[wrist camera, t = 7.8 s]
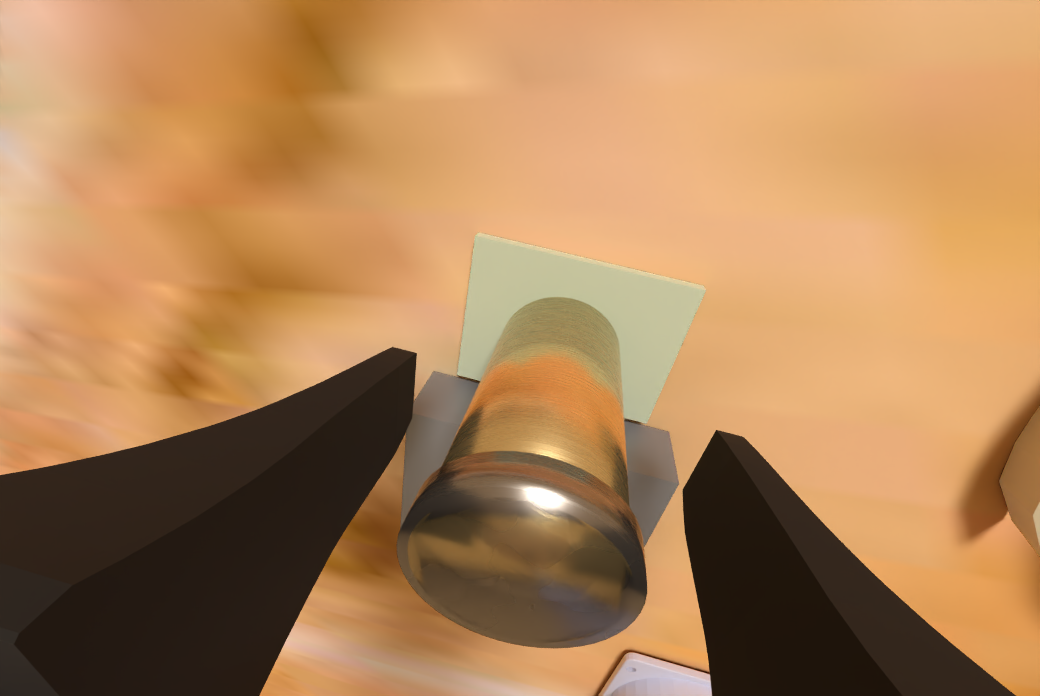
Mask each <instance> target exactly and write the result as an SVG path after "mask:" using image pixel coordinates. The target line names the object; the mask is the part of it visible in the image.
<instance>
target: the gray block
mask: <svg viewBox="0 0 1040 696" xmlns="http://www.w3.org/2000/svg"><path fill="white" fill-rule="evenodd" d="M478 385H479V383H478V382H474V381H470V380H466V379H462V378H458V377H454V376H450V375H447V374H443V373H439V372H435V371H434V372H433V373H432V375H431V376H430V378H429V379H428V381H427V382H426V384H425V385H424V387H423V389H422V390H421V392H420V393H419V395H418V396H417V398H416V399H415V401H414V402H413V415H412V420H411V422H410V424H409V426H408V428H407V431H406V443H405V460H404V477H403V494H402V511H401V527H402V524H403V522H404V520H405V518H406V516H407V514H408V512H409V510H410V508H411V506H412V504H413V502H414V500H415V498H416V495H417V493H418V491H419V489H420V488H421V486H422V485H423V483H424V482H425V481H426V479H427V478H428V477H429V476H430V475H431V474H432V473H433V472H435V471H436V470H438V469H439V468H440V467H442V464H443V462H444V460H445V458H446V456H447V453H448V451H449V449H450V447H451V445H452V442H453V440H454V438H455V436H456V434H457V431H458V429H459V427H460V425H461V423H462V420H463V418H464V416H465V414H466V411H467V409H468V407H469V405H470V403H471V400H472V398H473V396H474V394H475V392H476V389H477V387H478ZM624 425H625V441H626V458H627V474H628V490H629V506H630V509H631V510H632V512H633V514H634V515H635V517H636V519H637V521H638V523H639V526H640V528H641V532H642V537H643V544H644V546H645V545H646V543H647V541H648V539H649V537H650V536H651V534H652V532H653V530H654V528H655V526H656V525H657V523H658V521H659V519H660V517H661V516H662V514H663V512H664V510H665V508H666V506H667V505H668V503H669V501H670V499H671V497H672V496H673V494H674V492H675V490H676V488H677V486H678V485H679V481H678V476H677V471H676V466H675V460H674V455H673V450H672V445H671V439H670V434H669V432H668V431H664V430H660V429H656V428H652V427H648V426H644V425H640V424H637V423H633V422H629V421H625V420H624ZM400 529H401V528H400Z"/></svg>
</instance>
